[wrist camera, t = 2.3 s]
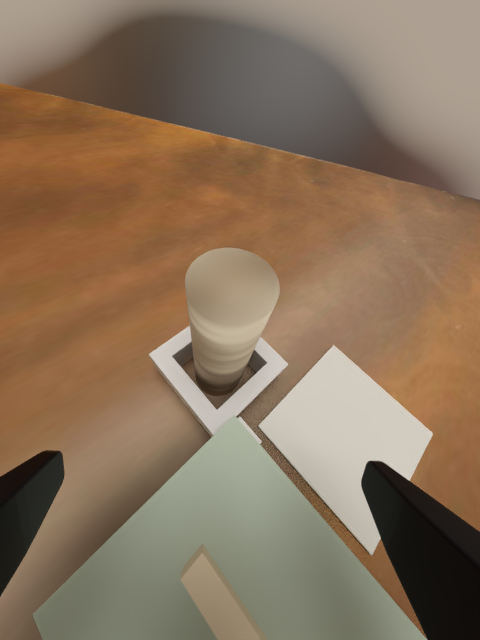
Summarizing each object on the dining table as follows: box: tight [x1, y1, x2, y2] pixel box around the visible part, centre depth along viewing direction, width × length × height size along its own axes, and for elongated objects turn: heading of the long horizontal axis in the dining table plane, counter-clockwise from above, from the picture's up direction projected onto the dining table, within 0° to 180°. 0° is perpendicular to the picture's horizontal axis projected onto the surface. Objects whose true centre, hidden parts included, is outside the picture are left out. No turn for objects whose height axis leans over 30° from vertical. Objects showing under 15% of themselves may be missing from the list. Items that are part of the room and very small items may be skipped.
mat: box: [258, 345, 433, 555], centre depth 20 cm, size 11×11×1 cm
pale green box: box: [32, 326, 427, 640], centre depth 14 cm, size 24×18×6 cm
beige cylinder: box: [185, 248, 280, 396], centre depth 16 cm, size 4×4×13 cm
